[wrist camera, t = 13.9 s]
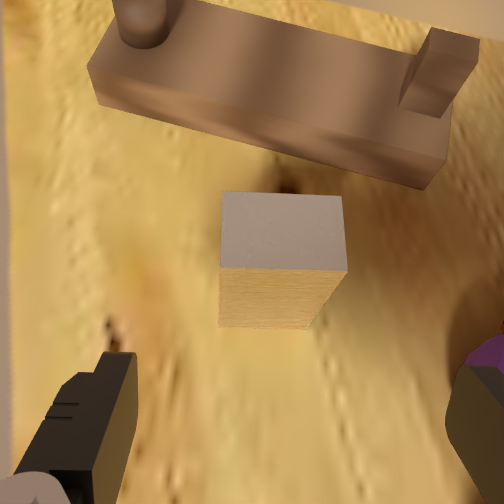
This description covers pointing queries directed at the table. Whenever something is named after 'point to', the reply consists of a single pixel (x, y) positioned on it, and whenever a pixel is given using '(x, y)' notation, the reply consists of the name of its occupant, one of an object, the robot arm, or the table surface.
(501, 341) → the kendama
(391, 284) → the table surface
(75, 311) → the table surface
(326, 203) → the lever cap
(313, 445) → the table surface
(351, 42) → the plane body
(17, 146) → the table surface
